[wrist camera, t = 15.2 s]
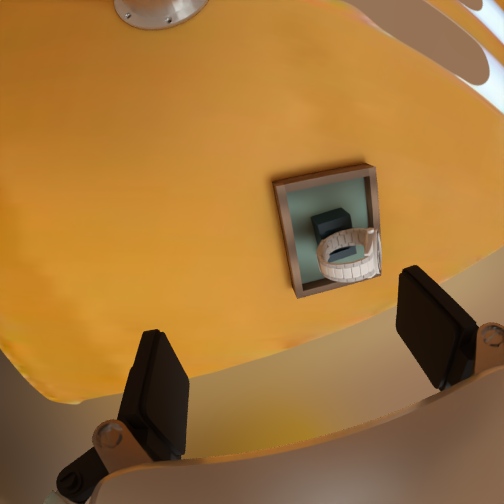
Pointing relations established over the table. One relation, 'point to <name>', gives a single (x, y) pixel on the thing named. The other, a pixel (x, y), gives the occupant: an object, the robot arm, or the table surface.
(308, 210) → the watch tray
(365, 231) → the watch
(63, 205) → the table surface
